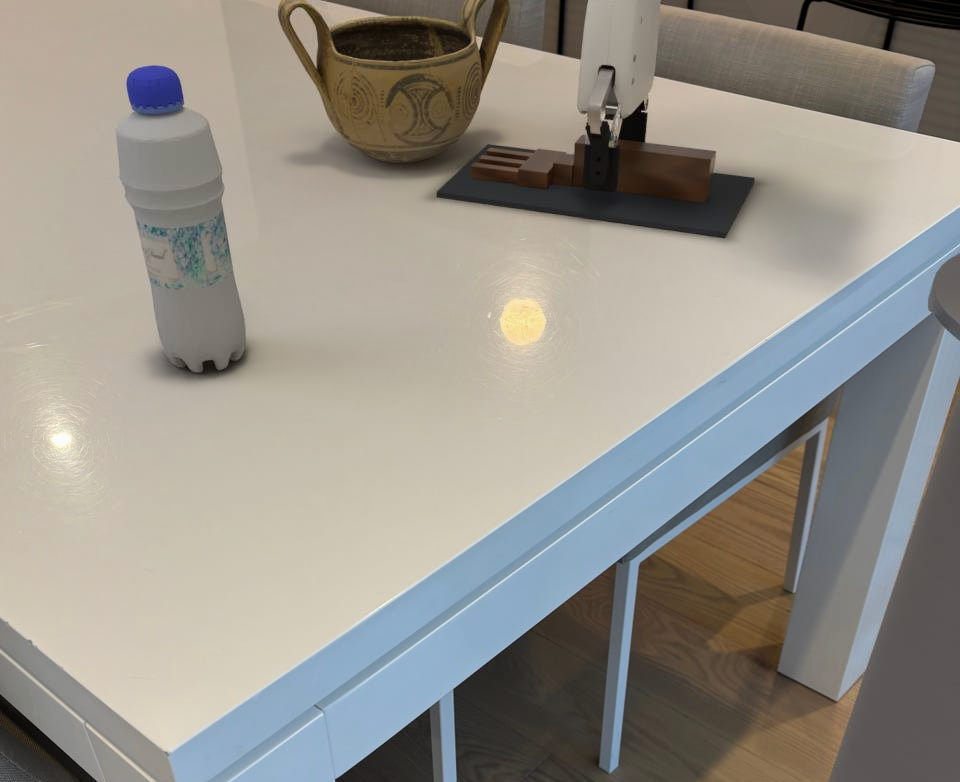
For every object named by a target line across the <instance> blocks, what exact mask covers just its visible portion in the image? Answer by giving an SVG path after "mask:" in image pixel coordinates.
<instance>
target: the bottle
mask: <svg viewBox="0 0 960 782" xmlns="http://www.w3.org/2000/svg"><path fill="white" fill-rule="evenodd" d="M125 84H126V92H127V96H128V101H129V104H130V107H131V110H132V112H131V113H129V114H128V115H127V116H125V117H123V119H121V120H120V121H119V122H117V124H116V127H115V137H116V138H115V140H116V149H117V158H118V169H119V171H118V172H119V180H120V182H121V184H122V187H123V189H124V198H125V200H126V202H127V203H128V204H129V205H130V207H131V209H132V210H133V214H134V220H135V223H136V227H137V232H138V237H139V241H140V246H141V249H142V254H143V259H144V264H145V269H146V272H147V276H148V280H149V284H150V288H151V297H152V304H153V311H154V316H155V322H156V328H157V333H158V337H159V340H160V344H161V346H162V349H163V351H164V353H165V355H166V358H168V360H169V361H170V362H171V364H173V365H174V366H175V367H178V368H185V367H186V366H187V367H188V368H189V370H190V371H191V372H193V373H197V374H199V373H202V372H203V371H204V365H203V364H204V363H203V362H205V361H213V363H214V366H215V369H216V370H218V371H222V370H224V369H226V368H227V367H228V365H229V363H230V360H231V361H238V360H240V359H241V358H242V356H243V354H244V352H245V349H246V344H247V343H246V342H247V341H246V340H247V337H246V336H247V334H246V331H247V329H246V321H245V315H244V310H243V307H242V302H241V298H240V295H239V294H240V293H239V290H238V286H237V282H236V278H235V273H234V266H233V260H232V254H231V248H230V242H229V236H228V230H227V224H226V218H225V213H224V206H223V202H222V201H223V195H224V193H225V187H226V186H225V184H224V182H223V165H222V163H221V160H220V156H219V152H218V149H217V147H216V143H215V140H214V136H213V134H212V130H211V126H210V123H209V120H208V119H207V117H206V116H205V115H203V114H202V113H200V112H198V111H195V110H193V109H191V108H188V107H185V98H184V93H183V87H182V83H181V80H180V77H179V76H178V73H177V72H176V71H175V70H174V69H172V68H170V67H167V66H165V65H153V64H152V65H145V66H141V67H137V68H135V69H133V70H131V72H130V73H128V76H127V77H126V83H125Z"/></svg>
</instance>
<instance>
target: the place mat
mask: <svg viewBox="0 0 960 782" xmlns="http://www.w3.org/2000/svg"><path fill="white" fill-rule="evenodd" d="M489 148H497V149H505V150H512V151H520V152H528V153H534V152H535V151H536V150H537V149H529V148H523V147H522V148H521V147H514V146H508V145H507V146H506V145H499V144H491V143H487V144H486V145H485V146H484V147H483V148H482V149H481V150H479V152H477V153H476V154H475V155H474V156H473V157H472V158H471V159H469V161H468V162H466V164H465V165H464V166H463V167H461V169H459V170H458V171H457V172H456V173H455V174H453V176H452V177H451V178H450V179H449V180H448V181H446V182H445V183H444V184H443V185H442V186H441V187H440V188H439V189H438V190H437V191H436V197H437V198H443V199H450V200H457V201H465V202H471V203H479V204H486V205H494V206H499V207H500V206H501V207H506V208H513V209H515V208H516V209H521V210H527V211H535V212H540V213H541V212H542V213H549V214H555V215H556V214H557V215H564V216H570V217H578V218H584V219H590V220H599V221H606V222H611V223H612V222H613V223H620V224H626V225H634V226H640V227H646V228H653V229H654V228H655V229H662V230H668V231H676V232H683V233H690V234H697V235H705V236H710V237H711V236H712V237H717V238H719V237H720V238H726V237H727V235H728V233H729V231H730V230H731V227H732V226H733V223H734V222H735V220H736V218H737V216H738V214H739V212H740V211H741V208H742V207H743V205H744V203H745V201H746V199H747V197H748V196H749V194H750V191H751V189H752V187H753V186H754V184H755V181H756V177H752V176H743V175H737V174H729V173H721V172H714V173H713V180H712V187H711V194H710V196H709V198H708V199H707V201H706V203H697V202H690V201H682V200H675V199H668V198H660V197H653V196H645V195H638V194H630V193H623V192H616V191H614V192H605V191H598V190H590V189H585V188H584V187H578V186H573V185H572V186H565V185H557V184H551V185H550V186H549V187H548V188H547V189H540V188H532V187H525V186H518V184H511V183H504V182H496V181H489V180H482V179H474V178H471V165H472V164H473V163H479V158H480V157H481V156H482V155H486V156H487V150H488V149H489Z"/></svg>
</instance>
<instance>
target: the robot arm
mask: <svg viewBox="0 0 960 782" xmlns="http://www.w3.org/2000/svg"><path fill="white" fill-rule="evenodd" d="M661 4H662V0H587V5H586V11H585V18H584V25H583V34H582V43H581V53H580V63H579V64H580V65H579V76H578V85H577V99H576V109H577V111H578V113H579V114H580V115H586V119H587V122H585V127H584V128H585V129H584V130H585V134H584V135H585V149H584V167H583V187H584V188H585V189H590V190H598V191H605V192H614V191H615V190H616V189H617V186H618V173H619V160H620V147H621V146H619V145H617V141H618V139H621V140H629V141H637V142H646V137H647V126H648V116H649V112H647V111H648V108H649V104H650V103H649V101H650V100H649V94H650V92H651V90H652V88H653V85H654V80H655V73H656V66H657V65H656V64H657V55H658V45H659V33H660V32H659V31H660V17H661V16H660V15H661ZM612 107H614V108H612ZM609 121H612V123H611V128H610V124H609Z"/></svg>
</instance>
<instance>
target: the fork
mask: <svg viewBox="0 0 960 782" xmlns="http://www.w3.org/2000/svg"><path fill="white" fill-rule="evenodd" d="M585 135H586V134H582V135H580V137H578V139H577V140H576V141H575V142H574V150H573V154H570V153H567V152H566V151H562V150H561V151H560V150H552V149H545V148H537V149H535V150H536V151H535V152H534V153H528V152H520V151H512V150H505V149H497V148H489V149H488V150H487V156H486V155H482V156H481V157H480V158H479V163H473V164H472V165H471V178H474V179H482V180H489V181H496V182H504V183H511V184H518V186H525V187H532V188H540V189H547V188H548V187H549V186H550V185H551V184H557V185H565V186H572V185H573V186H578V187H583V167H584V149H585ZM617 145H619V146H621V147H620V160H619V173H618V186H617V189H616V190H615V191H616V192H623V193H630V194H638V195H645V196H653V197H660V198H668V199H675V200H682V201H690V202H697V203H706V201H707V199H708V198H709V196H710V194H711V187H712V180H713V173H715V166H716V159H717V150H712V149H702V148H693V147H687V146H677V145H669V144H661V143H654V142H653V143H652V142H646V141H645V142H637V141H629V140H621V139H618V141H617Z"/></svg>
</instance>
